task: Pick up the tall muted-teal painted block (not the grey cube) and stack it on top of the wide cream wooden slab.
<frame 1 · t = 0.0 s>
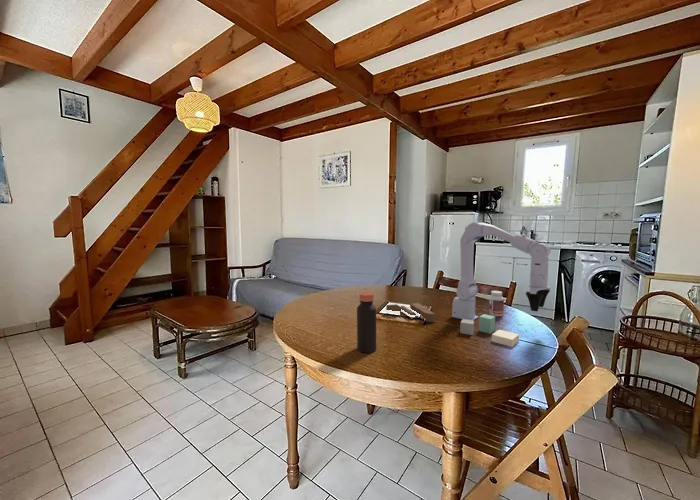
hand: (537, 308, 115), 10 cm above the table, fingers open, 7 cm apart
grey block: (467, 332, 118), on the table
vinegar: (366, 349, 104), on the table
cream slab: (505, 342, 109), on the table
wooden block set: (409, 318, 137), on the table
teal block: (486, 330, 120), on the table
pill bottle: (496, 314, 140), on the table
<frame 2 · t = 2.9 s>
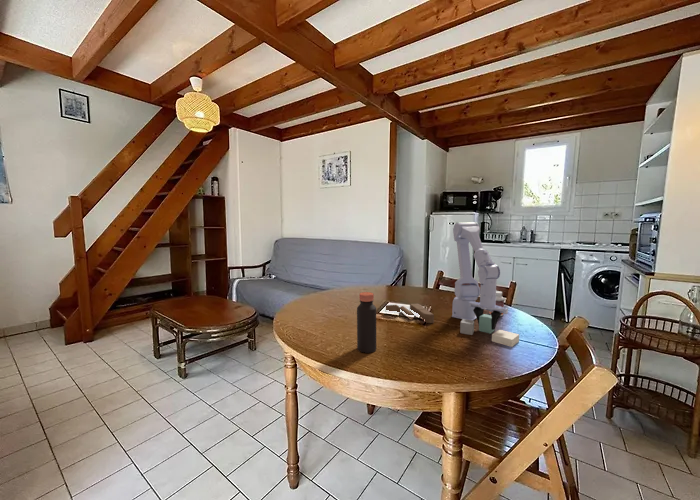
hand: (486, 327, 120), 1 cm above the table, fingers closed on teal block, 4 cm apart
teal block: (486, 330, 120), on the table, touching gripper
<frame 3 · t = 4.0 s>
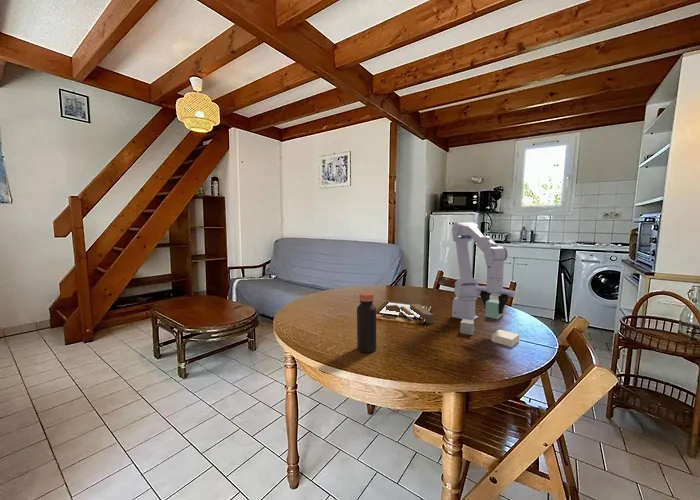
hand: (493, 311, 115), 9 cm above the table, fingers closed on teal block, 4 cm apart
teal block: (493, 316, 115), point 7 cm above the table, touching gripper
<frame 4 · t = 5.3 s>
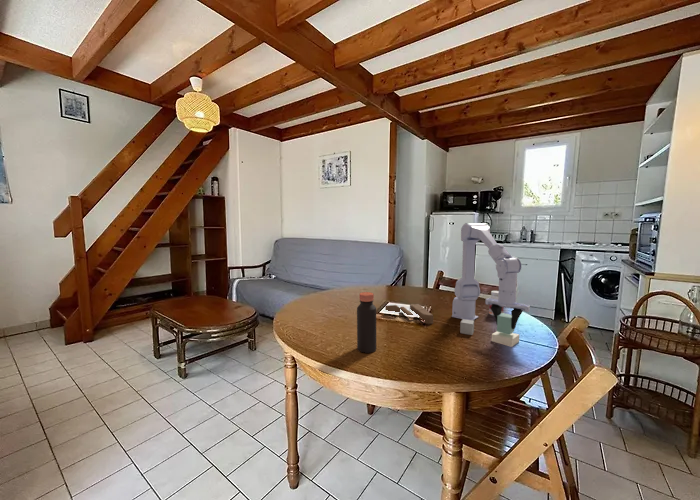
hand: (505, 326, 109), 6 cm above the table, fingers closed on teal block, 4 cm apart
teal block: (505, 331, 109), point 4 cm above the table, touching gripper
when the fingers open (6 cm above the table, at t = 5.9 s): teal block drops 1 cm, resting on cream slab.
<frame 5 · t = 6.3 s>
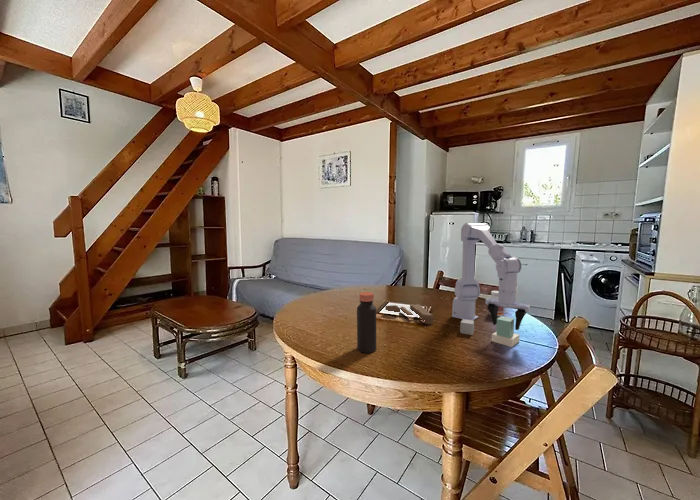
hand: (505, 326, 109), 6 cm above the table, fingers open, 7 cm apart
cream slab: (505, 342, 109), on the table, touching teal block
teal block: (505, 334, 109), point 3 cm above the table, touching cream slab
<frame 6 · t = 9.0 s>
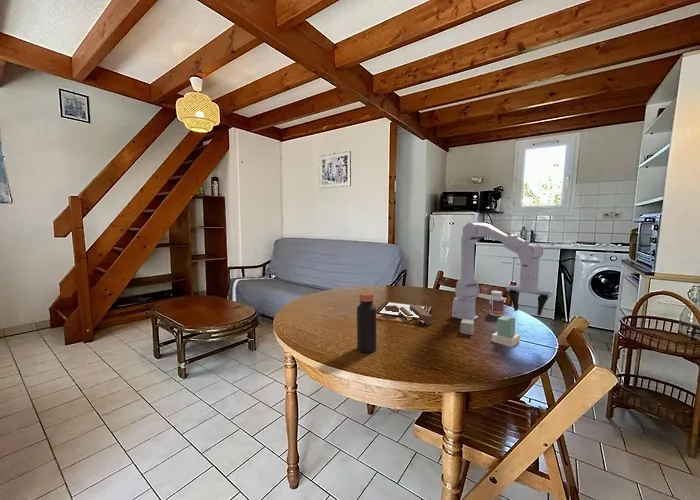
hand: (527, 312, 109), 10 cm above the table, fingers open, 7 cm apart
cream slab: (505, 342, 109), on the table
teal block: (506, 334, 109), point 3 cm above the table
at the end: teal block 0.3 cm off-centre on the cream slab, point 3.1 cm above the cream slab's base; teal block tilted 1°; the gripper is holding nothing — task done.
